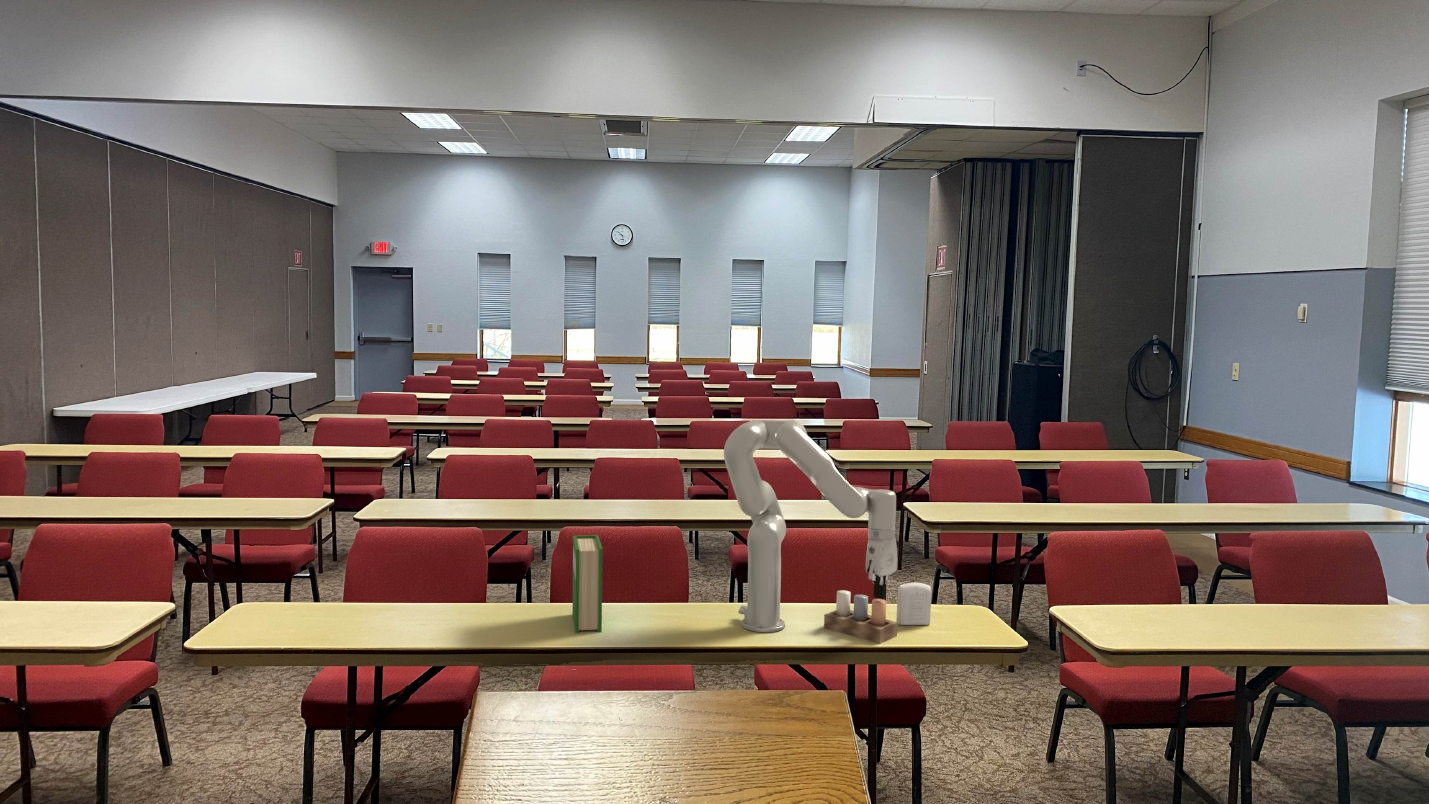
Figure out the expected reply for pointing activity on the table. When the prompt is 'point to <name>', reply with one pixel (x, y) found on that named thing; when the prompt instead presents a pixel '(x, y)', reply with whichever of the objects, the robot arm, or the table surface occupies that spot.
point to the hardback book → (587, 583)
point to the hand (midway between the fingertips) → (879, 597)
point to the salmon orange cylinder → (878, 612)
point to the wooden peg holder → (860, 627)
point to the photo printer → (914, 604)
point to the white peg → (843, 603)
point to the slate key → (860, 608)
